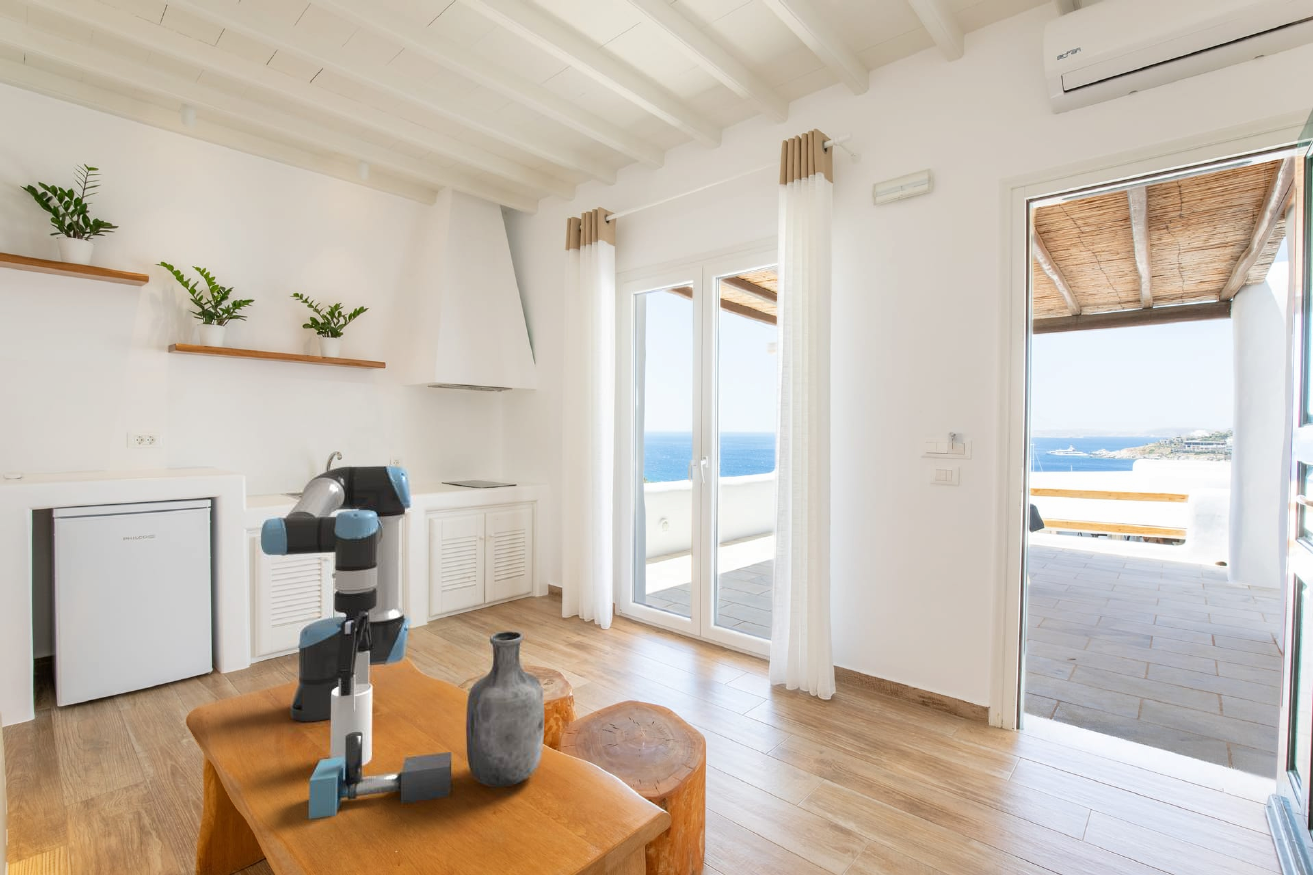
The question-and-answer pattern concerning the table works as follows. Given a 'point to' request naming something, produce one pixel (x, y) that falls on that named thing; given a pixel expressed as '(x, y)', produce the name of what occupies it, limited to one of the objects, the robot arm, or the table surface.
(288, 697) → the table surface
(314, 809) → the socket
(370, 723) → the cup
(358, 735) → the handle
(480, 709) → the vase
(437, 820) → the table surface
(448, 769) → the block
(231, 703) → the table surface
